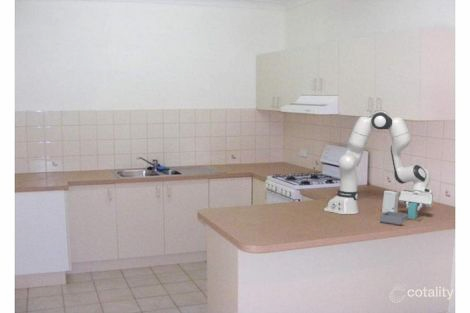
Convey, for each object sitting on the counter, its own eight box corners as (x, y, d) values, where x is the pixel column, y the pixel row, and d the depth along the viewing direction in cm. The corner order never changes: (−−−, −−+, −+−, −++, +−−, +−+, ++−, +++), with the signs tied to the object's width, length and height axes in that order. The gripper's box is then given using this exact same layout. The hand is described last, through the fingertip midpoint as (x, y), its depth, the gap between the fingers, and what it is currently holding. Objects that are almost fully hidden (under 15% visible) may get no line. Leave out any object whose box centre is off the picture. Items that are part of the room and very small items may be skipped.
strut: (407, 218, 324) (408, 203, 323) (409, 216, 327) (410, 202, 326) (414, 219, 321) (415, 204, 320) (417, 217, 325) (417, 203, 324)
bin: (379, 223, 317) (380, 214, 316) (387, 219, 327) (387, 211, 326) (400, 226, 309) (401, 218, 309) (407, 222, 319) (408, 214, 319)
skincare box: (381, 213, 341) (382, 191, 339) (385, 212, 346) (387, 190, 344) (394, 216, 336) (395, 193, 334) (398, 214, 340) (399, 191, 339)
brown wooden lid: (399, 220, 323) (399, 213, 323) (405, 217, 333) (406, 209, 332) (419, 223, 316) (419, 215, 316) (425, 220, 326) (425, 212, 325)
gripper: (400, 186, 334) (394, 204, 327) (434, 190, 322) (428, 209, 315) (402, 192, 338) (396, 210, 331) (435, 196, 326) (430, 215, 319)
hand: (412, 209), depth 323 cm, fingers closed on strut, 4 cm apart
